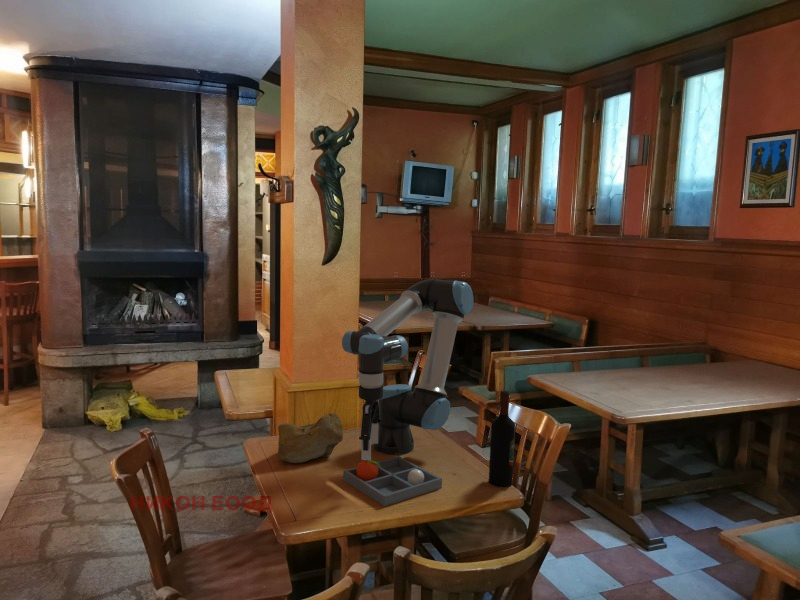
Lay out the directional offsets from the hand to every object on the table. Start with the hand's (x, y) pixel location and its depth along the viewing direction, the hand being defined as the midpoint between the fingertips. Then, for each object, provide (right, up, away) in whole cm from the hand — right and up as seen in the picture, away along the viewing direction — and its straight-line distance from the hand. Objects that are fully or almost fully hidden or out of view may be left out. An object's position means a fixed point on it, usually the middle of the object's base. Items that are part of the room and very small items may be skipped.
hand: (370, 451), depth 187 cm
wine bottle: (+42, -12, +6) cm, 44 cm away
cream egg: (+14, -11, -1) cm, 18 cm away
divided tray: (+7, -11, 0) cm, 13 cm away
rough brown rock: (-24, -8, +24) cm, 35 cm away
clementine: (0, -10, +1) cm, 10 cm away
